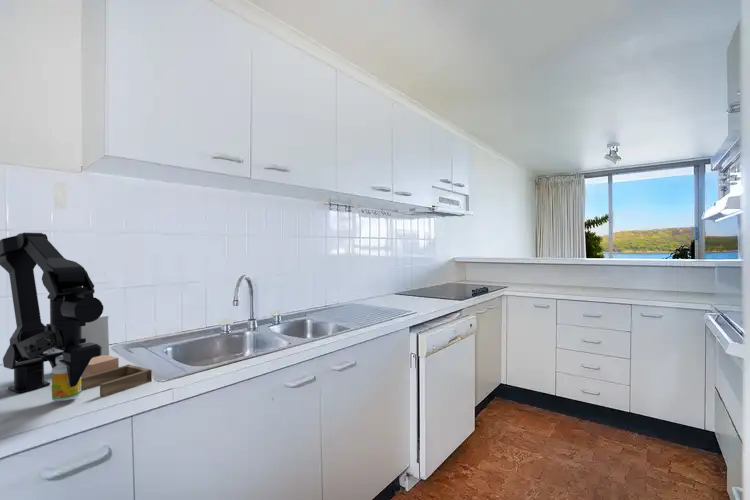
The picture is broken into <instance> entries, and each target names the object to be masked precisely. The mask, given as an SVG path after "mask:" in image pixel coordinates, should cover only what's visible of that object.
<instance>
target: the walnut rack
mask: <svg viewBox="0 0 750 500" xmlns="http://www.w3.org/2000/svg"><path fill="white" fill-rule="evenodd" d="M152 375H153V374H152V369H149V368H145V367H142V366H141V367H140V366H136V365H133V364H126V365H122V366H119V367H118V368H115V369H111V370H107V371H104V372H100V373H96V374H93V375H89V376H86V377H82V378H81V392H82V391H85V390H89V389H93V388H96V387H99V396H100V397H101V398H105V397H108V396H110V395H113V394H116V393H119V392H122V391H123V392H124V391H125V390H129V389H132V388H135V387H138V386H141V385H143V384H147V383H151V382H152Z"/></svg>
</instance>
